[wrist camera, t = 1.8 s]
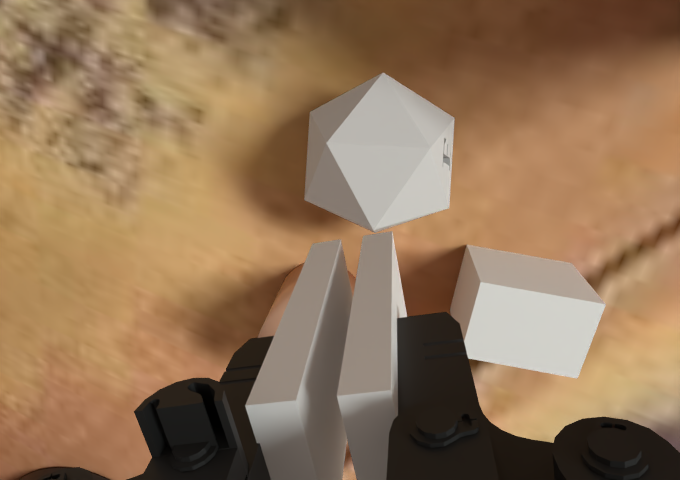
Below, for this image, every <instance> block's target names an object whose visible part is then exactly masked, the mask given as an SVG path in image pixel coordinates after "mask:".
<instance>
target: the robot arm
mask: <svg viewBox="0 0 680 480" xmlns="http://www.w3.org/2000/svg"><path fill="white" fill-rule="evenodd" d="M134 413H135V415H136V418H137V420H138V423H139V425H140V428H141V430H142V433H143V435H144V438H145V440H146V443H147V445H148V448H149V450H150V453H151V455H152V459H151V461H150V463H149V464H148V466H147V468H146V470H145V472H144V473H143V474H141V475H139V476H136V477H133V478H130V479H127V480H342V477H343V468H344V460H345V452H346V443H347V440H348V444H349V449H350V453H351V457H352V461H353V465H354V470H355V474H356V478H357V480H680V453H679V452H678V451H677V450H676V449H675V448H674V447H673V446H672V445H671V444H670V443H669V442H668V441H666V440H665V439H663V438H662V437H661V436H659V435H658V434H656V433H655V432H653V431H652V430H651V429H649V428H646V427H644V426H641V425H639V424H636V423H633V422H631V421H628V420H623V419H616V418H609V417H596V418H586V419H581V420H579V421H576V422H574V423H572V424H569V425H567V426H565V427H564V428H563V429H562V430H561V431H560V433H559V434H558V435H557V436H556V437H555V440H554V443H550V442H544V441H537V440H531V439H526V438H522V437H518V436H514V435H512V434H510V433H507V432H505V431H503V430H501V429H499V428H498V427H496V426H495V425H494V424H492V423H491V422H490V421H489V420H488V419H487V418H486V417H485V415H484V414H483V412H482V410H481V408H480V406H479V402H478V397H477V393H476V389H475V385H474V381H473V377H472V372H471V368H470V364H469V360H468V356H467V352H466V347H465V343H464V339H463V335H462V331H461V327H460V323H459V322H457V321H456V320H455V319H454V318H453V317H452V316H450V315H449V314H448V313H447V312H441V313H434V314H426V315H418V316H410V317H407V313H406V307H405V302H404V296H403V290H402V284H401V279H400V273H399V267H398V262H397V256H396V250H395V244H394V239H393V233H392V231H391V232H385V233H378V234H372V235H365V236H363V240H362V246H361V252H360V258H359V264H358V270H357V276H356V282H355V288H354V295H352V290H351V285H350V281H349V276H348V271H347V266H346V262H345V257H344V252H343V247H342V243H341V239H340V240H333V241H327V242H320V243H314V244H312V246H311V249H310V251H309V254H308V256H307V258H306V261H305V263H304V266H303V268H302V270H301V273H300V275H299V278H298V280H297V282H296V285H295V287H294V290H293V292H292V294H291V297H290V299H289V302H288V304H287V306H286V309H285V311H284V314H283V316H282V318H281V321H280V323H279V326H278V328H277V330H276V333H275V335H274V336H268V337H260V338H252V339H250V340H248V341H247V342H246V343H245V344H244V345H243V346H242V347H241V348H240V349H238V350H237V351H236V352H235V353H234V355H233V357H232V359H231V360H230V362H229V364H228V366H227V368H226V372H224V374H223V376H222V378H221V380H220V381H219V382H218V381H215V380H212V379H210V378H192V379H187V380H183V381H179V382H176V383H174V384H171V385H169V386H167V387H165V388H162V389H160V390H159V391H157V392H156V393H154V394H153V395H151V396H150V397H148V398H147V399H145V400H144V401H143V402H142V404H141V405H140V406H139V407H138V408H137V409H136V410H135V411H134ZM19 480H108V479H106V478H104V477H102V476H99V475H96V474H93V473H90V471H88V470H85V469H83V468H80V467H77V468H49V469H43V470H38V471H35V472H32V473H30V474H28V475H26V476H24V477H22V478H21V479H19Z"/></svg>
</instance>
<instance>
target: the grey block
mask: <svg viewBox="0 0 680 480" xmlns="http://www.w3.org/2000/svg"><path fill="white" fill-rule="evenodd" d="M605 305H606V304H605V303H604V302H603V300H602V299H601V298H600V297H599V296H598V294H597V293H596V292H595V291H594V290H593V288H592V287H591V286H590V285H589V284H588V282H587V281H586V280H585V279H584V278H583V276H582V275H581V274H580V273H579V272H578V270H577V269H576V268H575V267H574V266H573V264H572V263H568V262H563V261H557V260H551V259H546V258H540V257H534V256H529V255H523V254H517V253H512V252H506V251H500V250H494V249H489V248H483V247H477V246H472V245H466V249H465V253H464V257H463V261H462V265H461V269H460V272H459V276H458V280H457V284H456V288H455V292H454V296H453V299H452V303H451V307H450V313H451V316H452V317H453V318H454V319H455V320H456V321H457V322H459V323H460V327H461V331H462V335H463V339H464V343H465V347H466V352H467V356H468V358H469V359H474V360H480V361H485V362H491V363H496V364H502V365H507V366H512V367H518V368H523V369H529V370H534V371H540V372H545V373H550V374H556V375H561V376H567V377H572V378H578V376H579V373H580V371H581V368H582V365H583V363H584V360H585V358H586V355H587V352H588V350H589V347H590V344H591V342H592V339H593V337H594V334H595V331H596V329H597V326H598V323H599V321H600V318H601V316H602V313H603V310H604V308H605Z"/></svg>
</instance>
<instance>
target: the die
mask: <svg viewBox="0 0 680 480" xmlns="http://www.w3.org/2000/svg"><path fill="white" fill-rule="evenodd" d="M454 120H455V118H454V117H452V116H451V115H449V114H448V113H446V112H445V111H443V110H441V109H440V108H438V107H437V106H435V105H434V104H432V103H430V102H429V101H427V100H426V99H424V98H423V97H421V96H419V95H418V94H416V93H415V92H413V91H412V90H410V89H408V88H407V87H405V86H404V85H402V84H401V83H399V82H397V81H396V80H394V79H393V78H391V77H390V76H388V75H386V74H385V73H381V74H379V75H377V76H375V77H374V78H372V79H370V80H368V81H366V82H364V83H363V84H361V85H359V86H357V87H355V88H353V89H351V90H350V91H348V92H346V93H344V94H342V95H340V96H338V97H337V98H335V99H333V100H331V101H329V102H327V103H325V104H324V105H322V106H320V107H318V108H316V109H314V110H312V111H311V112H310V117H309V133H308V149H307V165H306V181H305V197H304V200H305V201H307V202H310V203H312V204H314V205H316V206H318V207H320V208H323V209H325V210H327V211H329V212H331V213H333V214H336V215H338V216H340V217H342V218H344V219H346V220H349V221H351V222H353V223H355V224H357V225H359V226H362V227H364V228H366V229H368V230H370V231H372V232H374V233H375V232H378V231H381V230H384V229H387V228H390V227H393V226H396V225H399V224H403V223H406V222H409V221H412V220H415V219H418V218H421V217H424V216H427V215H430V214H433V213H436V212H439V211H442V210H445V209H448V208H449V202H450V185H451V169H452V153H453V136H454Z"/></svg>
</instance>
